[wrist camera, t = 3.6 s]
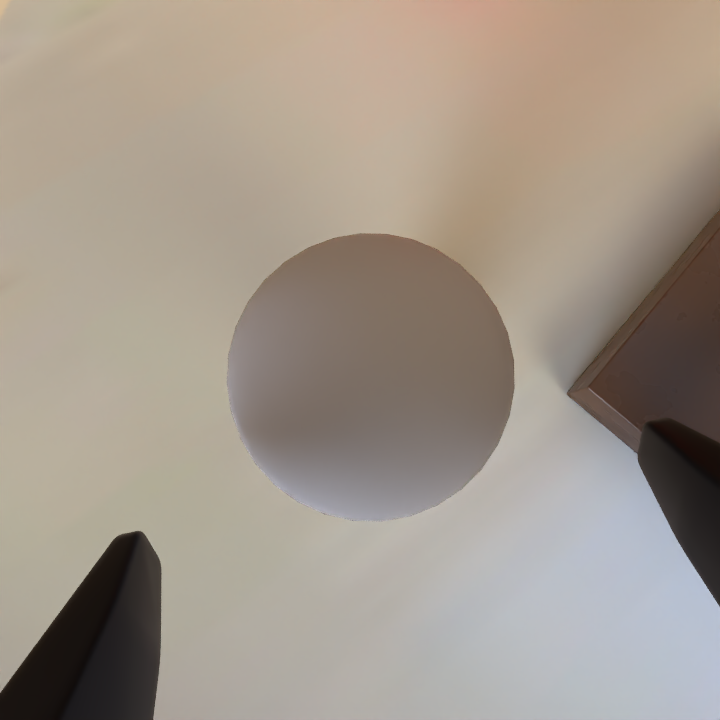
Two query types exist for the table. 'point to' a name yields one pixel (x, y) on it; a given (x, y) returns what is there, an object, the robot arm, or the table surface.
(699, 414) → the walnut board
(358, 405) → the lightbulb
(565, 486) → the table surface
